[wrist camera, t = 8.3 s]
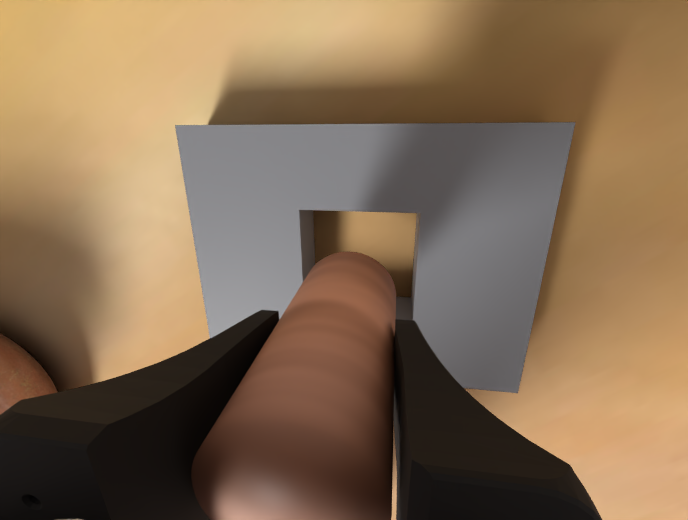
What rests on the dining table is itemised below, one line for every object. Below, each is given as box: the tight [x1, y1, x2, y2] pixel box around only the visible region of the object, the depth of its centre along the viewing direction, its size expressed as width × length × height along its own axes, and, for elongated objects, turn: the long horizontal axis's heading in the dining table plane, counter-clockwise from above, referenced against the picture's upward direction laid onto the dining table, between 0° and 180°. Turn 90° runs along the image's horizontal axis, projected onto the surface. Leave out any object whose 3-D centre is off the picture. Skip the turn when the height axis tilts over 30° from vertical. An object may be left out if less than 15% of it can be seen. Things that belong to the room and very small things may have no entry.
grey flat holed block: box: [175, 122, 575, 393], centre depth 20 cm, size 14×18×3 cm
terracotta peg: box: [191, 252, 396, 520], centre depth 11 cm, size 4×4×9 cm
